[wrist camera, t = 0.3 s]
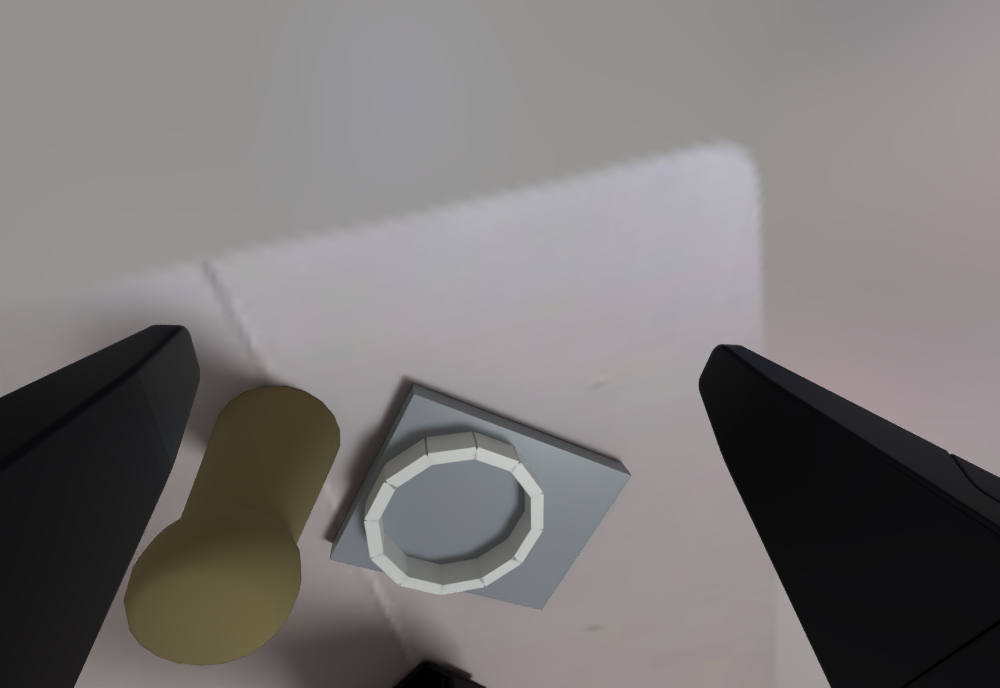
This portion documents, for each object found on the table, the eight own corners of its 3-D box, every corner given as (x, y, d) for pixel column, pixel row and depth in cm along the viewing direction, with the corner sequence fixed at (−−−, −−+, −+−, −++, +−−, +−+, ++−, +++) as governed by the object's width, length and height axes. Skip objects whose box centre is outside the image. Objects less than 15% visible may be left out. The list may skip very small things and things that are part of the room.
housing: (332, 543, 28) (325, 581, 26) (413, 383, 25) (415, 408, 23) (536, 594, 33) (548, 630, 30) (622, 463, 30) (643, 491, 28)
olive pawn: (209, 481, 25) (85, 699, 15) (219, 376, 23) (85, 545, 13) (331, 492, 27) (291, 695, 17) (349, 395, 25) (317, 558, 15)
